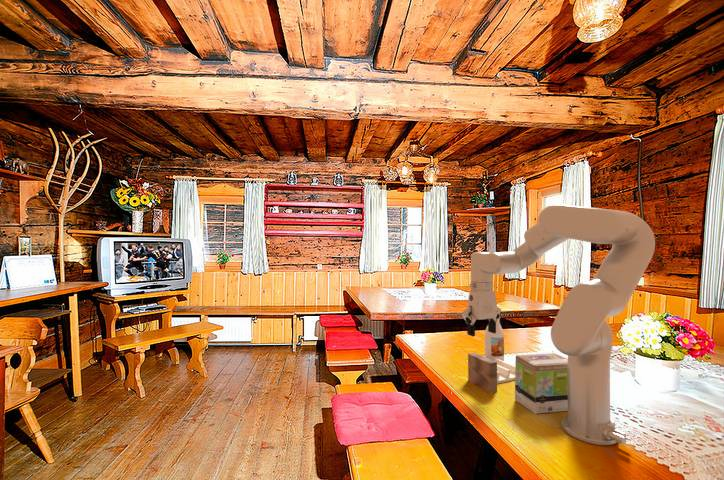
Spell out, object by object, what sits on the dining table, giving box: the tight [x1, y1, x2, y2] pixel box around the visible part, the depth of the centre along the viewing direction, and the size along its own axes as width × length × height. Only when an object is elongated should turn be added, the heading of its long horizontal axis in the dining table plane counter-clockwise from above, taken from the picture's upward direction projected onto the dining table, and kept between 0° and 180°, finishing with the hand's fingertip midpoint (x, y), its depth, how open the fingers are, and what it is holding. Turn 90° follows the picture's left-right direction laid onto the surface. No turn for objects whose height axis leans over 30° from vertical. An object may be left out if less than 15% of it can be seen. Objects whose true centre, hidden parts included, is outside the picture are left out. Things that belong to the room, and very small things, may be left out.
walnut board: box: [467, 352, 498, 394], centre depth 118 cm, size 11×3×10 cm, turn 23°
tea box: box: [514, 352, 568, 415], centre depth 104 cm, size 15×10×15 cm
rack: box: [494, 358, 516, 385], centre depth 129 cm, size 14×14×4 cm
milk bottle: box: [484, 314, 505, 362], centre depth 144 cm, size 8×8×20 cm
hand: (481, 333), depth 119 cm, fingers open, 9 cm apart
